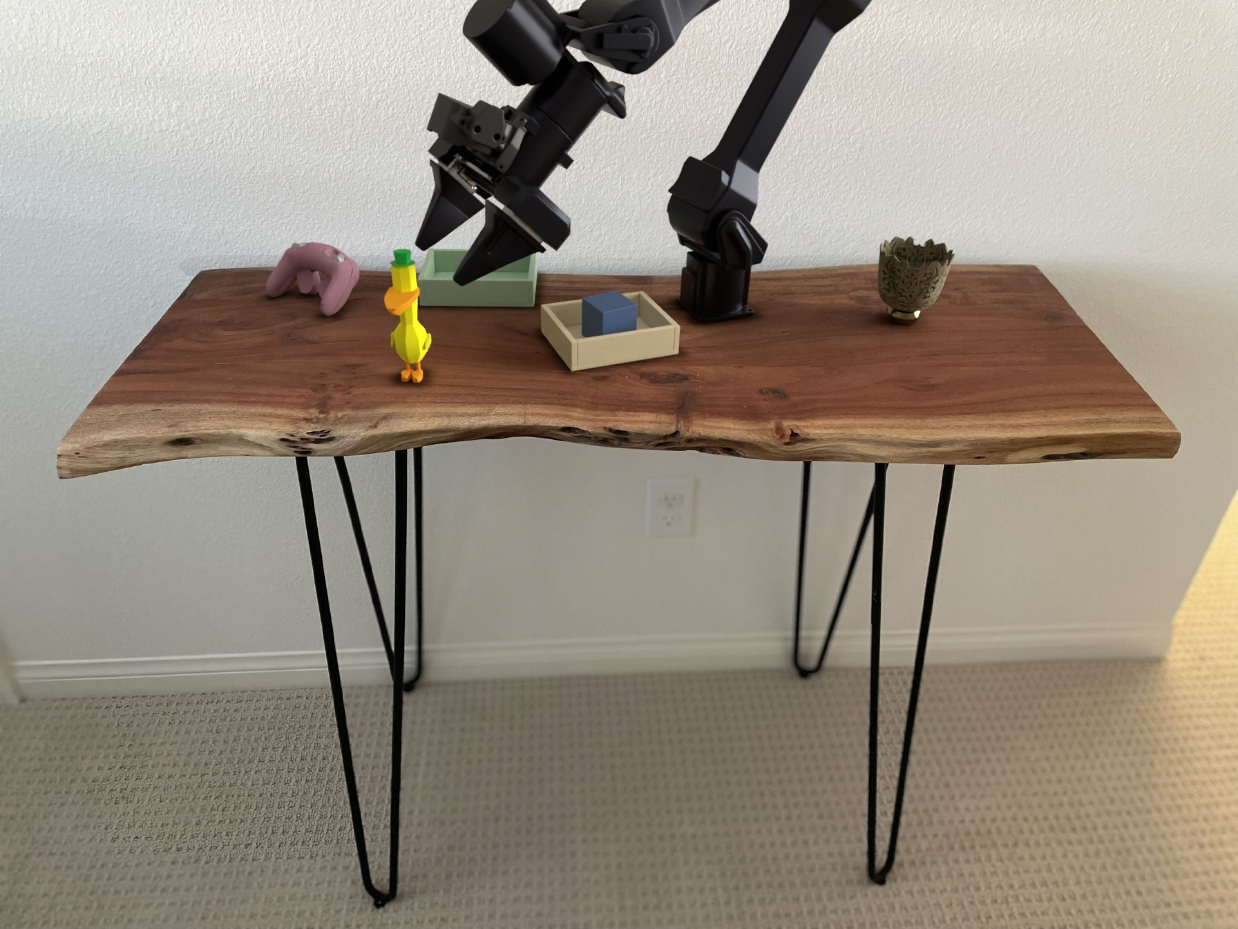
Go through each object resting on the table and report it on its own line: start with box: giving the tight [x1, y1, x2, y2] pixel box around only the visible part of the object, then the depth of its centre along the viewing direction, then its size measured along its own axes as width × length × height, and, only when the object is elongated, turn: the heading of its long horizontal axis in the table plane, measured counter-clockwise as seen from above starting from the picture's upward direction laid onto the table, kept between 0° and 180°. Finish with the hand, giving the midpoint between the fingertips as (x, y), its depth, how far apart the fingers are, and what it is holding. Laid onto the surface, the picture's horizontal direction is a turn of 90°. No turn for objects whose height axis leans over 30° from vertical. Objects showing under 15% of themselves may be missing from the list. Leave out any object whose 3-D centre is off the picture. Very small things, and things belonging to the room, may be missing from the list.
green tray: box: [416, 248, 538, 308], centre depth 103 cm, size 12×9×3 cm
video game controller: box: [265, 241, 360, 317], centre depth 99 cm, size 10×5×7 cm, turn 58°
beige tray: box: [540, 290, 681, 372], centre depth 93 cm, size 11×9×3 cm
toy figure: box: [383, 248, 432, 384], centre depth 83 cm, size 7×4×12 cm, turn 175°
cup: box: [877, 235, 955, 325], centre depth 98 cm, size 8×7×8 cm
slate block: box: [581, 290, 637, 338], centre depth 92 cm, size 4×4×4 cm
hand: (436, 264), depth 82 cm, fingers open, 9 cm apart
